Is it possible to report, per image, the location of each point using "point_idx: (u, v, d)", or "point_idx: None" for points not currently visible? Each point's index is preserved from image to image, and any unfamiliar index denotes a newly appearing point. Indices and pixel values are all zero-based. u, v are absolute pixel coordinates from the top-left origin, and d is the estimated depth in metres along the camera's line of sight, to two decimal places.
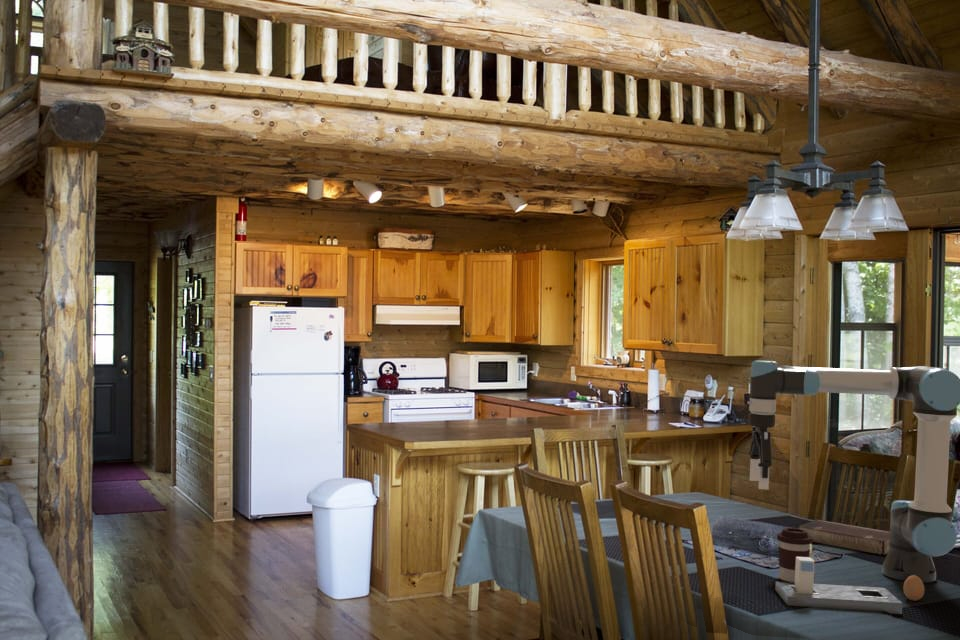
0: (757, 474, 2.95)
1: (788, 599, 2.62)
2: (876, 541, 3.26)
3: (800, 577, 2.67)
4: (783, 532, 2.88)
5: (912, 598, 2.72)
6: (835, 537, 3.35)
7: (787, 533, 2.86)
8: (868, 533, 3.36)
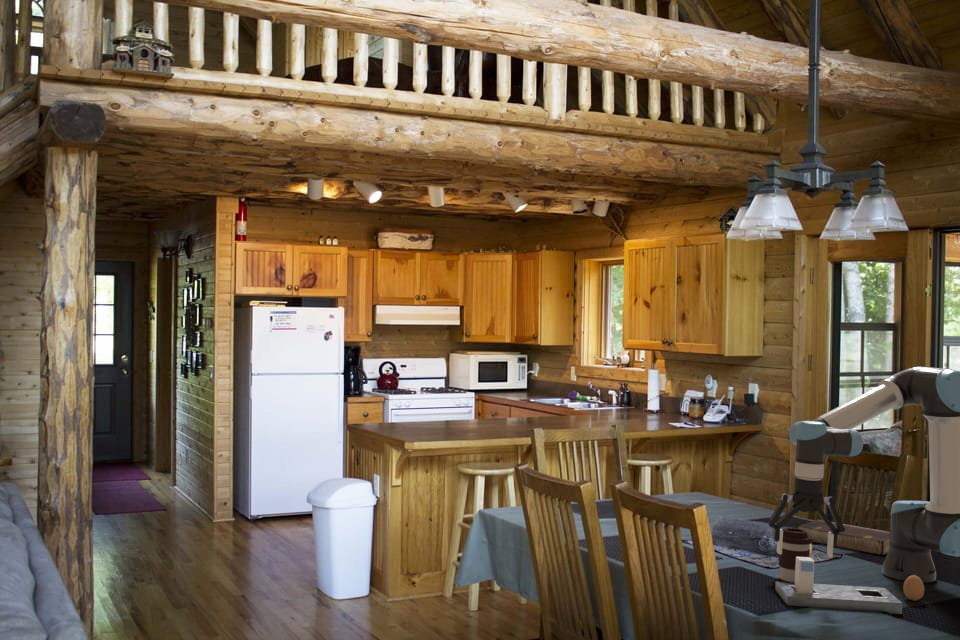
0: (829, 550, 2.67)
1: (788, 599, 2.62)
2: (875, 541, 3.26)
3: (800, 577, 2.67)
4: (783, 532, 2.88)
5: (912, 598, 2.72)
6: None
7: (787, 533, 2.86)
8: (868, 533, 3.36)
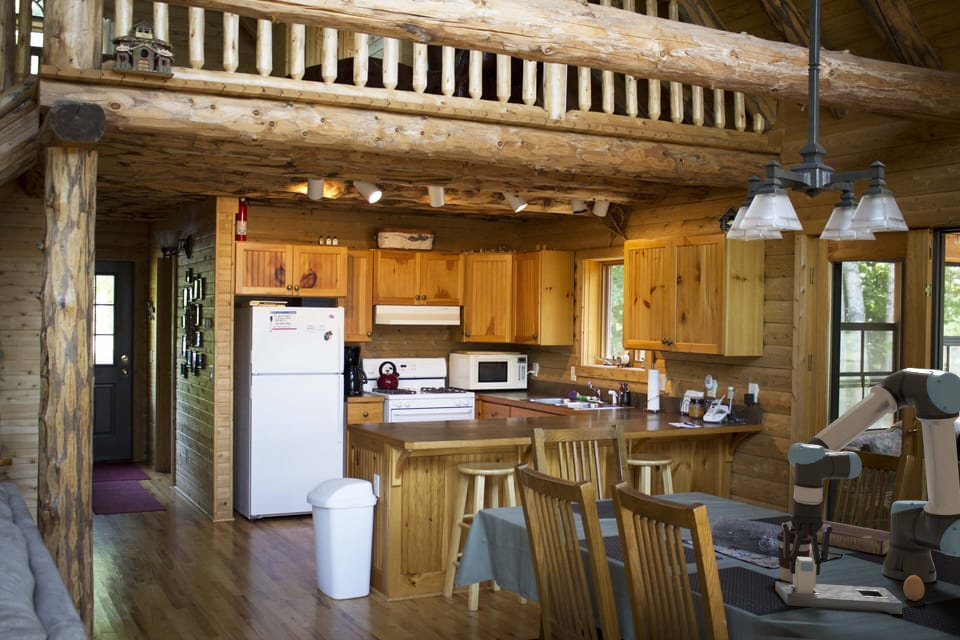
0: None
1: (788, 599, 2.62)
2: (874, 541, 3.26)
3: (800, 577, 2.67)
4: None
5: (912, 598, 2.72)
6: (834, 537, 3.35)
7: None
8: (868, 533, 3.36)
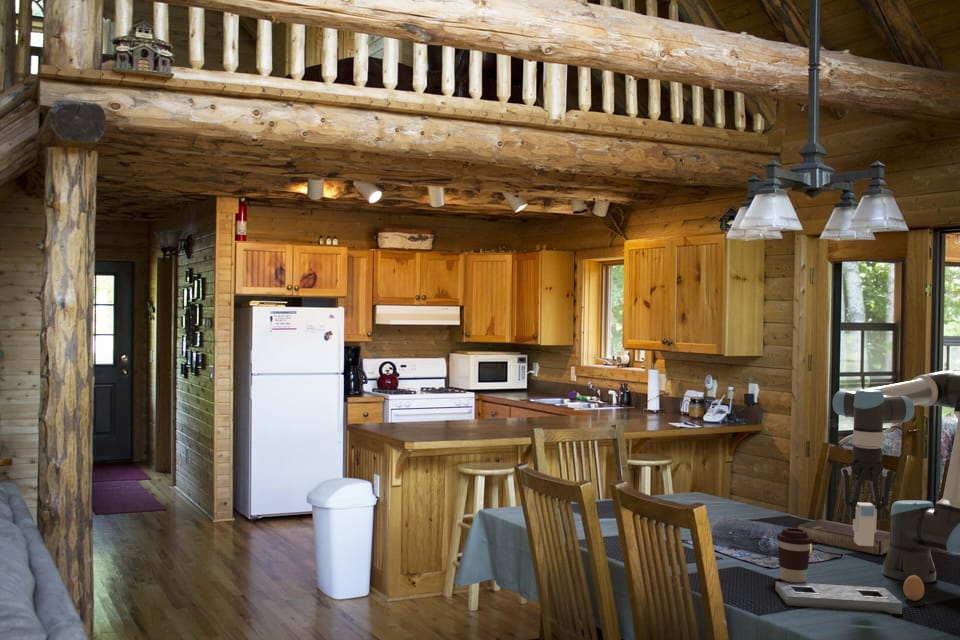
0: None
1: (788, 599, 2.62)
2: None
3: (860, 522, 2.66)
4: (783, 532, 2.88)
5: (912, 598, 2.72)
6: (833, 537, 3.35)
7: (787, 533, 2.86)
8: None
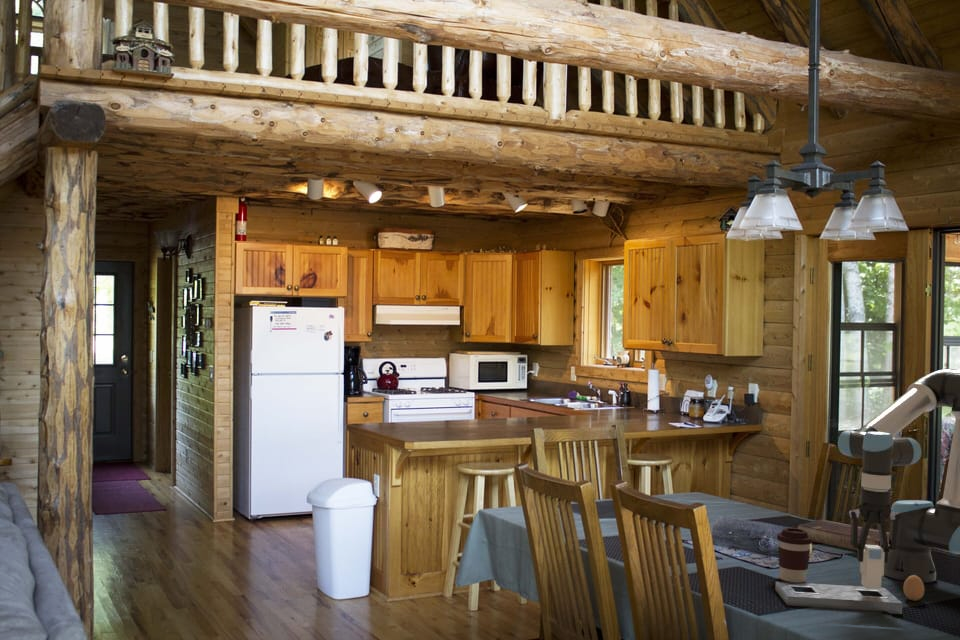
0: None
1: (788, 599, 2.62)
2: (872, 541, 3.26)
3: (868, 565, 2.65)
4: (783, 532, 2.88)
5: (912, 598, 2.72)
6: (833, 537, 3.35)
7: (787, 533, 2.86)
8: None
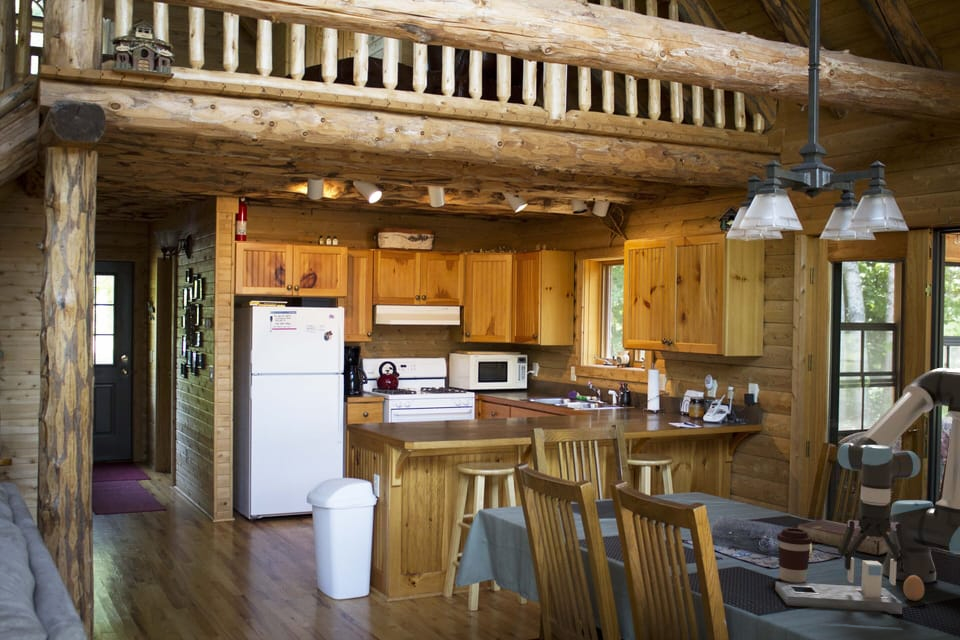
0: (892, 577, 2.66)
1: (788, 599, 2.62)
2: (871, 541, 3.26)
3: (868, 581, 2.65)
4: (783, 532, 2.88)
5: (912, 598, 2.72)
6: (832, 536, 3.35)
7: (787, 533, 2.86)
8: None
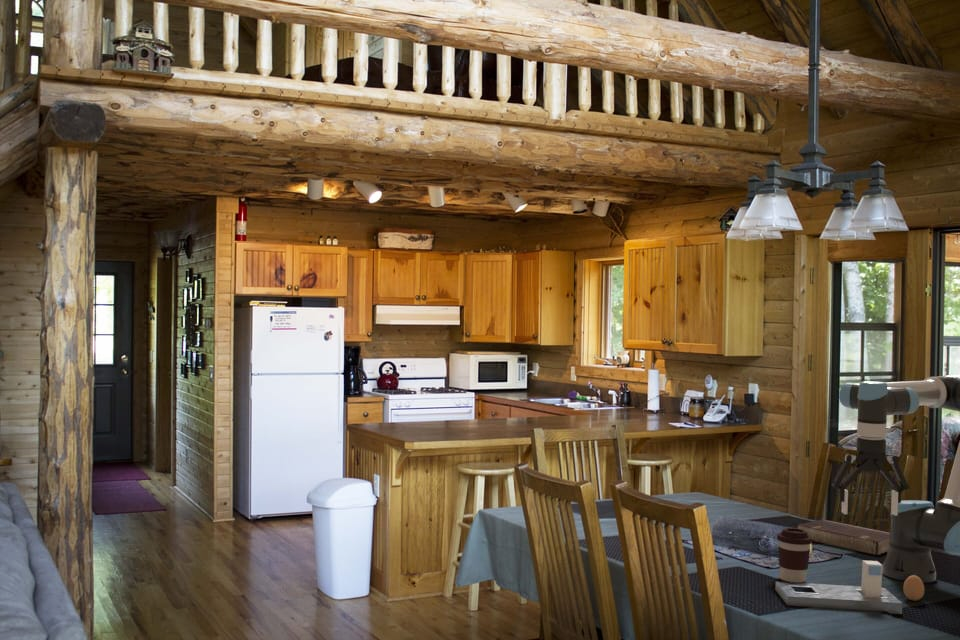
0: (894, 508, 2.70)
1: (788, 599, 2.62)
2: (870, 541, 3.26)
3: (868, 581, 2.65)
4: (783, 532, 2.88)
5: (912, 598, 2.72)
6: (832, 536, 3.36)
7: (787, 533, 2.86)
8: (867, 533, 3.36)
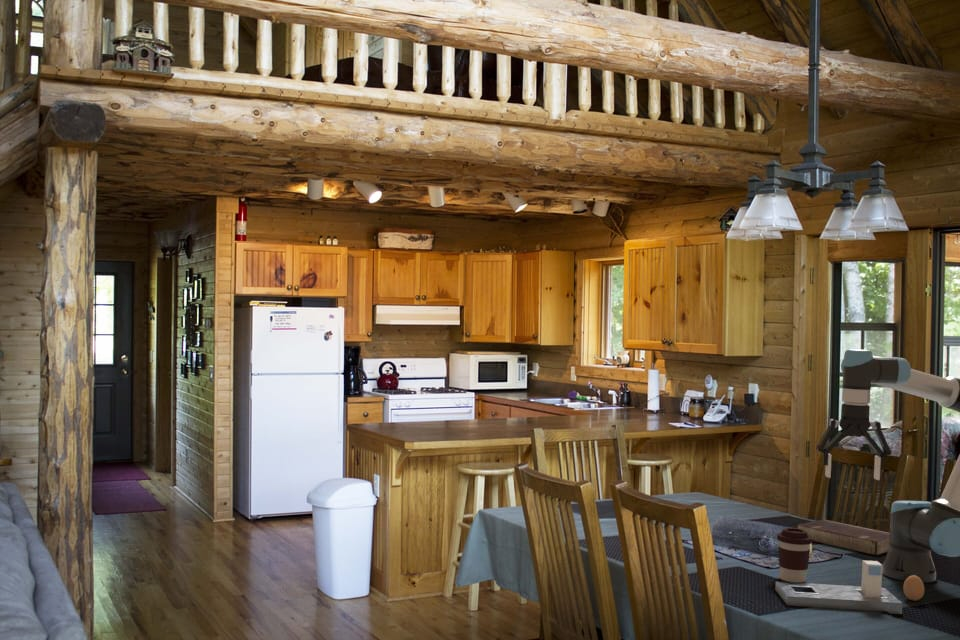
0: (876, 472, 2.77)
1: (788, 599, 2.62)
2: (869, 541, 3.26)
3: (868, 581, 2.65)
4: (783, 532, 2.88)
5: (912, 598, 2.72)
6: (831, 536, 3.36)
7: (787, 533, 2.86)
8: (866, 533, 3.36)
